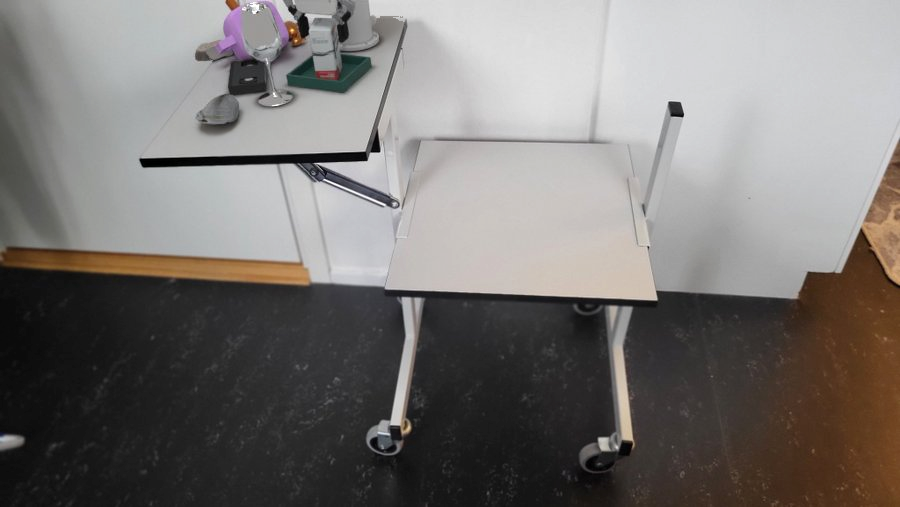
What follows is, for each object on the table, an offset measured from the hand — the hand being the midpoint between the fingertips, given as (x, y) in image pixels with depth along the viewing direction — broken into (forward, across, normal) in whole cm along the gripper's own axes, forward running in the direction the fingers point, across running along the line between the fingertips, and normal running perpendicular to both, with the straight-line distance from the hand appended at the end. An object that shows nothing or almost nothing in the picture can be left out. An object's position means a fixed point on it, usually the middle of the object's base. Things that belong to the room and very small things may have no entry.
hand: (324, 38), depth 148 cm
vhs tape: (+9, +17, +7) cm, 21 cm away
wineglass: (+9, +6, +14) cm, 18 cm away
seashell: (+9, +12, +26) cm, 30 cm away
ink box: (+8, 0, 0) cm, 9 cm away
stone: (+10, +32, -4) cm, 34 cm away
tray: (+9, 0, 0) cm, 9 cm away
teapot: (-1, +17, -3) cm, 17 cm away
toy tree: (+1, +40, -19) cm, 44 cm away
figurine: (+8, +24, -12) cm, 28 cm away
